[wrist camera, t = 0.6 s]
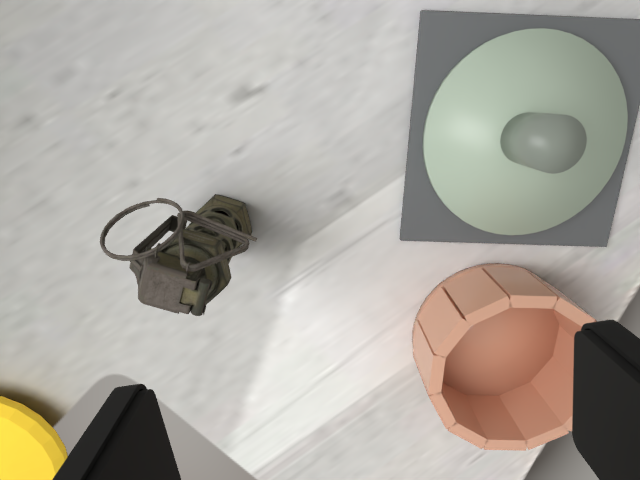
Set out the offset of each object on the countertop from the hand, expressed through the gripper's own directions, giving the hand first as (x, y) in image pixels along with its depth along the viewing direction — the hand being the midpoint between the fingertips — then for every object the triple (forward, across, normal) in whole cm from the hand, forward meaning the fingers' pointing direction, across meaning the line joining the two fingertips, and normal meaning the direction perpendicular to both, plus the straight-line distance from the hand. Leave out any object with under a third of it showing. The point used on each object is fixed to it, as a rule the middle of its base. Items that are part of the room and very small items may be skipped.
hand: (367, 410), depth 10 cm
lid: (+29, -16, -1) cm, 33 cm away
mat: (+30, -16, -1) cm, 34 cm away
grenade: (+30, +10, +1) cm, 32 cm away
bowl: (+30, -12, +17) cm, 36 cm away
